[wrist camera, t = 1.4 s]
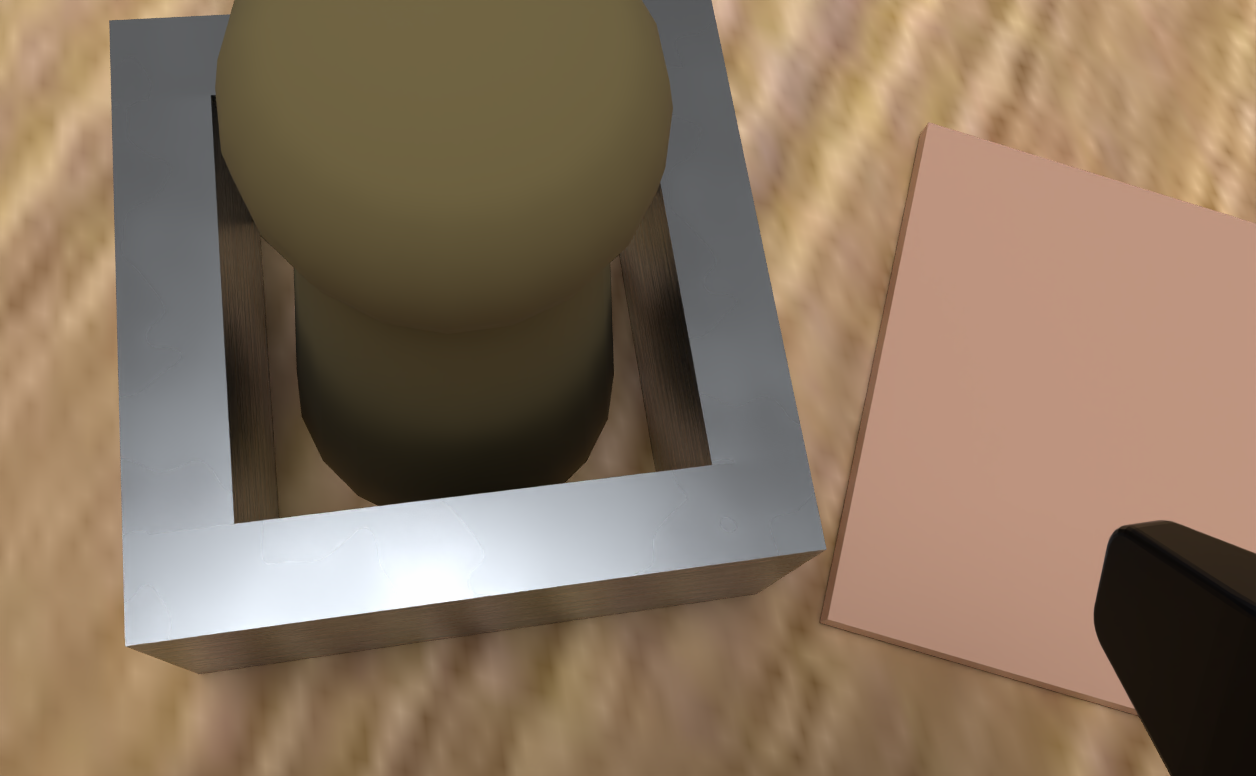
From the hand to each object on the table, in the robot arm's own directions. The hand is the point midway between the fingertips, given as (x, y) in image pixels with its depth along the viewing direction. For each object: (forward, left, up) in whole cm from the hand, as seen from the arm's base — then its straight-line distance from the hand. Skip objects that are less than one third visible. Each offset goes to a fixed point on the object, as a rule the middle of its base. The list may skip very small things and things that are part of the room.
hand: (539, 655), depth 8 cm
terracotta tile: (-2, -14, -13) cm, 19 cm away
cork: (+6, -3, -13) cm, 15 cm away
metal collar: (+6, -3, -13) cm, 14 cm away
